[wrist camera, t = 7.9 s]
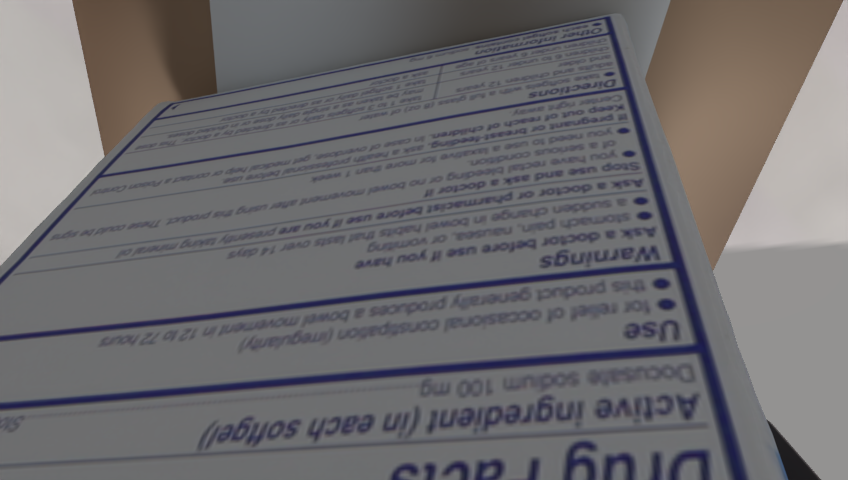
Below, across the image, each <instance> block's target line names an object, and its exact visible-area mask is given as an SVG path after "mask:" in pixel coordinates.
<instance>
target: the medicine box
mask: <svg viewBox="0 0 848 480" xmlns="http://www.w3.org/2000/svg"><path fill="white" fill-rule="evenodd" d="M0 480H788V477H787V475H786V472H785V469H784V466H783V463H782V460H781V457H780V454H779V451H778V449H777V446H776V443H775V440H774V437H773V434H772V432H771V429H770V427H769V425H768V422H767V420H766V418H765V415H764V413H763V411H762V408H761V406H760V403H759V401H758V399H757V396H756V394H755V391H754V388H753V385H752V382H751V379H750V376H749V374H748V371H747V368H746V366H745V363H744V360H743V358H742V355H741V353H740V350H739V348H738V345H737V342H736V338H735V335H734V332H733V328H732V325H731V322H730V319H729V316H728V314H727V311H726V309H725V306H724V303H723V300H722V297H721V294H720V292H719V288H718V286H717V282H716V279H715V276H714V274H713V271H712V268H711V265H710V262H709V259H708V256H707V254H706V251H705V248H704V245H703V242H702V239H701V236H700V233H699V230H698V228H697V225H696V222H695V219H694V216H693V213H692V210H691V207H690V204H689V201H688V198H687V195H686V193H685V190H684V187H683V184H682V181H681V178H680V175H679V172H678V169H677V166H676V163H675V161H674V158H673V155H672V152H671V149H670V146H669V144H668V141H667V139H666V136H665V134H664V131H663V129H662V126H661V123H660V120H659V118H658V115H657V112H656V109H655V106H654V104H653V101H652V98H651V95H650V93H649V90H648V87H647V84H646V81H645V78H644V75H643V73H642V70H641V67H640V64H639V61H638V58H637V55H636V52H635V48H634V45H633V42H632V40H631V36H630V32H629V28H628V25H627V23H626V21H625V19H624V17H623V16H622V15H621V14H616V13H614V14H608V15H603V16H598V17H594V18H589V19H584V20H579V21H574V22H569V23H564V24H559V25H554V26H549V27H544V28H540V29H535V30H530V31H525V32H520V33H515V34H510V35H505V36H500V37H495V38H489V39H484V40H479V41H474V42H469V43H464V44H459V45H454V46H449V47H444V48H439V49H434V50H429V51H424V52H419V53H414V54H409V55H404V56H399V57H395V58H390V59H385V60H380V61H374V62H369V63H364V64H360V65H355V66H350V67H345V68H341V69H336V70H331V71H326V72H321V73H316V74H312V75H307V76H302V77H297V78H292V79H287V80H281V81H276V82H271V83H266V84H261V85H256V86H251V87H246V88H241V89H236V90H231V91H226V92H222V93H217V94H212V95H207V96H202V97H197V98H191V99H186V100H180V101H175V102H174V101H167V102H161V103H159V104H157V105H156V106H155V107H154V108H153V109H152V110H151V111H150V112H149V113H147V114H146V115H145V116H144V117H143V118H142V119H141V120H140V121H139V123H138V124H137V125H136V126H135V127H134V128H133V129H132V130H131V131H130V132H129V133H128V134H127V135H126V136H125V137H124V138H123V139H122V140H121V141H120V142H119V143H118V144H117V145H116V146H115V147H114V148H113V149H112V150H111V151H110V152H109V153H108V154H107V155H106V156H105V157H104V158H103V159H102V160H101V161H100V162H99V163H98V164H97V165H96V166H95V167H94V168H93V170H92V171H91V172H90V173H89V174H88V175H87V176H86V177H85V178H84V179H83V180H82V181H81V182H80V183H79V184H78V185H77V186H76V188H75V189H74V190H73V191H72V192H71V193H70V194H69V195H68V196H67V198H66V199H64V200H63V201H62V202H61V203H60V204H59V205H58V206H57V207H56V208H55V209H54V210H53V211H52V212H51V213H50V215H49V216H48V217H47V218H46V219H45V220H44V221H43V222H42V223H41V224H40V225H39V226H38V227H37V228H36V229H35V230H34V231H33V232H32V233H31V234H30V235H29V236H28V237H27V239H26V240H25V241H24V242H23V243H22V244H21V245H20V246H19V247H18V248H17V249H16V250H15V251H14V252H13V253H12V254H11V255H10V257H9V258H8V259H7V260H6V261H5V262H4V263H3V264H2V265H1V266H0Z"/></svg>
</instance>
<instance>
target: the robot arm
mask: <svg viewBox="0 0 848 480" xmlns="http://www.w3.org/2000/svg"><path fill="white" fill-rule="evenodd" d="M766 420H767V419H766ZM767 422H768V425H769V427H770V429H771V432H772V434H773V437H774V440H775V443H776V446H777V449H778V451H779V454H780V457H781V460H782V463H783V466H784V469H785V472H786V475H787V477H788V480H821V479H820V478H819V477H818V476H817V475H816V474H815V472H814V471H813V470H812V469H811V468H810V467H809V465H808V464H807V463H806V462H805V461H804V460H803V459H802V458H801V456H800V455H799V454H798V453H797V452H796V451H795V450H794V448H793V447H792V446H791V445H790V444H789V443H788V442H787V440H786V439H785V438H784V437H783V436H782V435H781V434H780V432H779V431H778V430H777V429H776V428H775V427H774V426H773V424H771V423H770V422H769V421H768V420H767Z"/></svg>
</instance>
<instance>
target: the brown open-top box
mask: <svg viewBox="0 0 848 480" xmlns="http://www.w3.org/2000/svg"><path fill="white" fill-rule="evenodd" d="M72 1H73V6H74V11H75V16H76V21H77V25H78V30H79V35H80V40H81V45H82V50H83V54H84V59H85V64H86V69H87V74H88V78H89V83H90V88H91V93H92V98H93V102H94V107H95V112H96V117H97V122H98V126H99V131H100V136H101V141H102V146H103V150H104V155H105V156H106V155H107V154H108V153H109V152H110V151H111V150H112V149H113V148H114V147H115V146H116V145H117V144H118V143H119V142H120V141H121V140H122V139H123V138H124V137H125V136H126V135H127V134H128V133H129V132H130V131H131V130H132V129H133V128H134V127H135V126H136V125H137V124H138V123H139V121H140V120H141V119H142V118H143V117H144V116H145V115H146V114H147V113H149V112H150V111H151V110H152V109H153V108H154V107H155V106H156V105H157V104H159V103H161V102H167V101H174V102H175V101H180V100H186V99H191V98H197V97H202V96H207V95H212V94H217V93H222V92H226V91H231V90H236V89H241V88H246V87H251V86H256V85H261V84H266V83H271V82H276V81H281V80H287V79H292V78H297V77H302V76H307V75H312V74H316V73H321V72H326V71H331V70H336V69H341V68H345V67H350V66H355V65H360V64H364V63H369V62H374V61H380V60H385V59H390V58H395V57H399V56H404V55H409V54H414V53H419V52H424V51H429V50H434V49H439V48H444V47H449V46H454V45H459V44H464V43H469V42H474V41H479V40H484V39H489V38H495V37H500V36H505V35H510V34H515V33H520V32H525V31H530V30H535V29H540V28H544V27H549V26H554V25H559V24H564V23H569V22H574V21H579V20H584V19H589V18H594V17H598V16H603V15H608V14H614V13H616V14H621V15H622V16H623V17H624V19H625V21H626V23H627V25H628V28H629V32H630V36H631V40H632V42H633V45H634V48H635V52H636V55H637V58H638V61H639V64H640V67H641V70H642V73H643V75H644V78H645V81H646V84H647V87H648V90H649V93H650V95H651V98H652V101H653V104H654V106H655V109H656V112H657V115H658V118H659V120H660V123H661V126H662V129H663V131H664V134H665V136H666V139H667V141H668V144H669V146H670V149H671V152H672V155H673V158H674V161H675V163H676V166H677V169H678V172H679V175H680V178H681V181H682V184H683V187H684V190H685V193H686V195H687V198H688V201H689V204H690V207H691V210H692V213H693V216H694V219H695V222H696V225H697V228H698V230H699V233H700V236H701V239H702V242H703V245H704V248H705V251H706V254H707V256H708V259H709V262H710V265H711V268H712V271H713V270H714V268H715V265H716V263H717V261H718V259H719V257H720V255H721V253H722V251H723V249H724V247H725V245H726V243H727V241H728V239H729V236H730V234H731V232H732V230H733V228H734V226H735V224H736V222H737V220H738V218H739V216H740V214H741V212H742V209H743V207H744V205H745V203H746V201H747V199H748V197H749V195H750V193H751V191H752V189H753V187H754V185H755V182H756V180H757V178H758V176H759V174H760V172H761V170H762V168H763V166H764V164H765V162H766V160H767V158H768V156H769V153H770V151H771V149H772V147H773V145H774V143H775V141H776V139H777V137H778V135H779V133H780V131H781V129H782V126H783V124H784V122H785V120H786V118H787V116H788V114H789V112H790V110H791V108H792V106H793V104H794V102H795V100H796V97H797V95H798V93H799V91H800V89H801V87H802V85H803V83H804V81H805V79H806V77H807V75H808V73H809V70H810V68H811V66H812V64H813V62H814V60H815V58H816V56H817V54H818V52H819V50H820V48H821V46H822V43H823V41H824V39H825V37H826V35H827V33H828V31H829V29H830V27H831V25H832V23H833V21H834V19H835V17H836V14H837V12H838V10H839V8H840V6H841V4H842V2H843V0H72Z"/></svg>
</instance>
